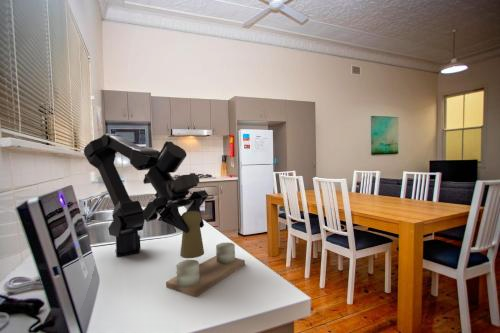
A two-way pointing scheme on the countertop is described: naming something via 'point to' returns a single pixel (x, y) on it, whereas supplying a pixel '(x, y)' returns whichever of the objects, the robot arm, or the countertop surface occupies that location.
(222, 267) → the spice board
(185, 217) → the olive pepper mill
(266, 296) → the countertop surface
